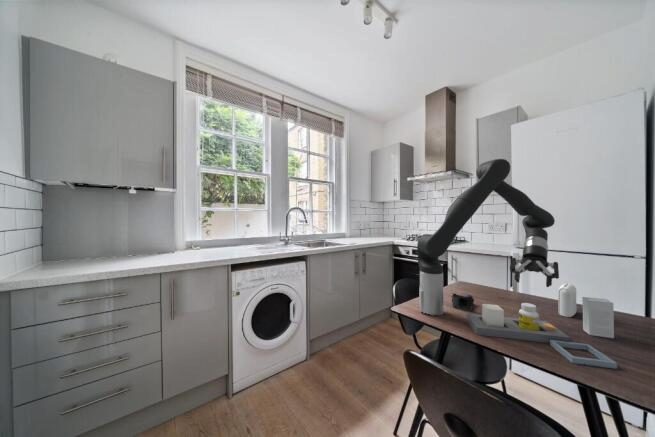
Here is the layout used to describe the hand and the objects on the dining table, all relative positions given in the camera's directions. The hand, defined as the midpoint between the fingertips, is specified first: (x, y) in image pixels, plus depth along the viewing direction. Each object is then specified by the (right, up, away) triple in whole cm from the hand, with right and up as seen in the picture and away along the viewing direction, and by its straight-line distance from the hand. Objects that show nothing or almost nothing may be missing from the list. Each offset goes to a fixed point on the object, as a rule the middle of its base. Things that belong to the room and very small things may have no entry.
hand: (532, 283), depth 88 cm
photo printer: (+22, -15, +9) cm, 28 cm away
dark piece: (-15, -16, +18) cm, 28 cm away
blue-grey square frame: (-4, -15, -20) cm, 26 cm away
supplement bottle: (-7, -16, -6) cm, 18 cm away
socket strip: (-12, -15, -5) cm, 20 cm away
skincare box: (+16, -15, -8) cm, 23 cm away
